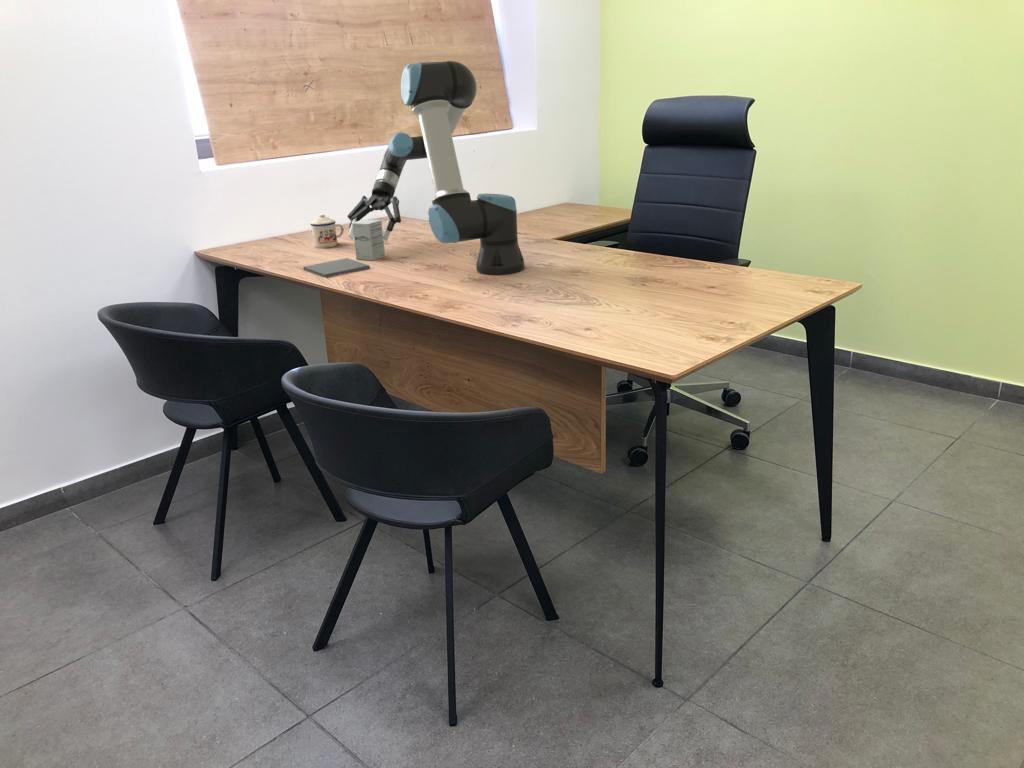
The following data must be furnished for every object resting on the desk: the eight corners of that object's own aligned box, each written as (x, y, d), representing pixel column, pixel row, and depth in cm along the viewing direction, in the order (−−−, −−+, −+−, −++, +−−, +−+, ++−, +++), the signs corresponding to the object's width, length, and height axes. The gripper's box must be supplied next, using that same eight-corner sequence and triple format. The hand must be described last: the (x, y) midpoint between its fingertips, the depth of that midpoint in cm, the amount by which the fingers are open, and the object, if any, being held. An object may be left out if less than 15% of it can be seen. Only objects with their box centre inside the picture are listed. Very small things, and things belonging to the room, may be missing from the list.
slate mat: (369, 268, 264) (369, 265, 264) (324, 277, 255) (324, 274, 255) (347, 260, 276) (346, 258, 276) (303, 269, 267) (303, 266, 267)
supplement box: (355, 259, 278) (351, 222, 273) (368, 254, 284) (364, 218, 279) (373, 260, 274) (368, 223, 270) (385, 256, 280) (382, 219, 276)
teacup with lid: (318, 249, 296) (313, 217, 292) (310, 245, 304) (306, 214, 299) (349, 244, 302) (345, 213, 298) (340, 240, 309) (336, 210, 305)
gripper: (420, 193, 282) (403, 245, 275) (359, 192, 292) (341, 242, 284) (411, 180, 276) (394, 232, 269) (349, 179, 285) (331, 230, 278)
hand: (367, 238), depth 276 cm, fingers open, 13 cm apart
